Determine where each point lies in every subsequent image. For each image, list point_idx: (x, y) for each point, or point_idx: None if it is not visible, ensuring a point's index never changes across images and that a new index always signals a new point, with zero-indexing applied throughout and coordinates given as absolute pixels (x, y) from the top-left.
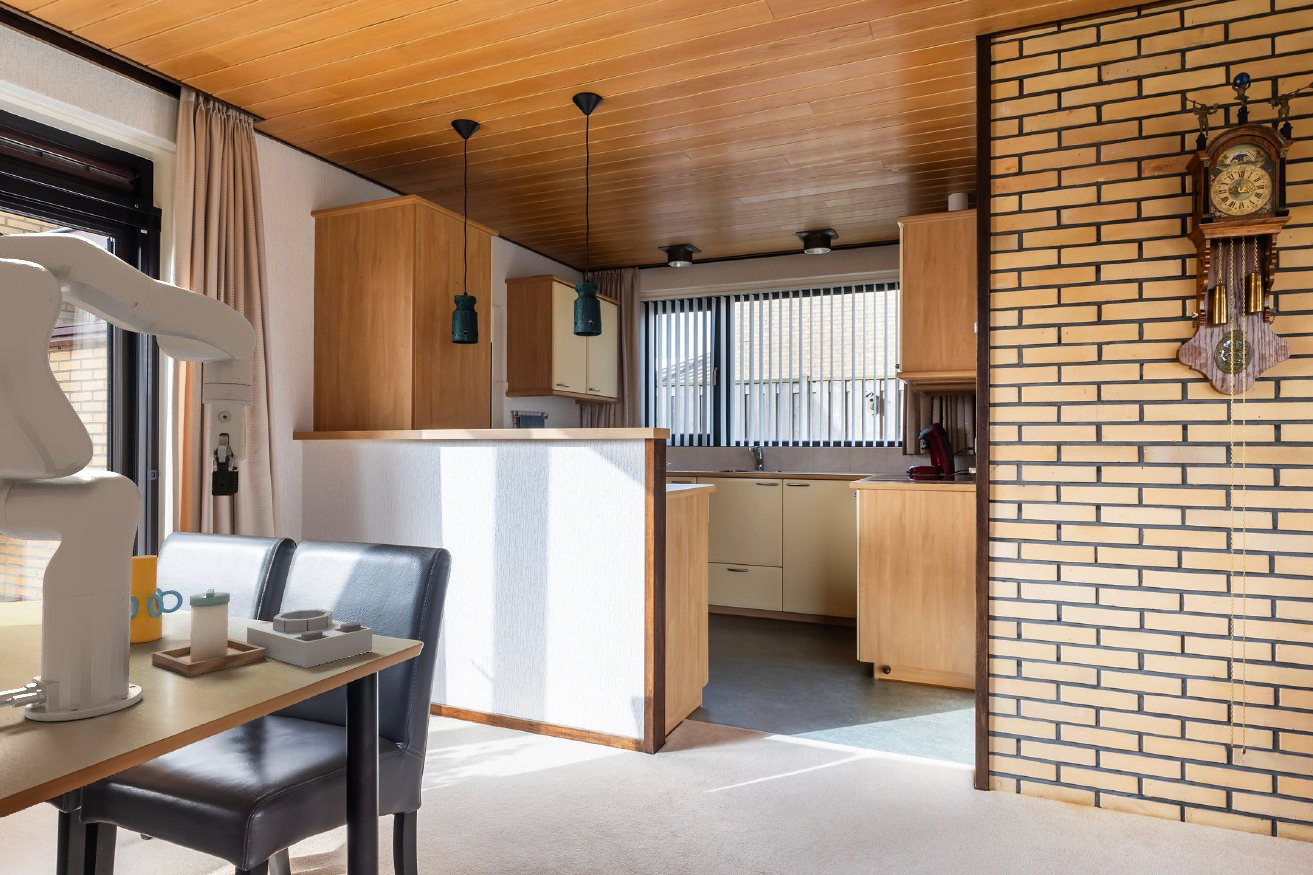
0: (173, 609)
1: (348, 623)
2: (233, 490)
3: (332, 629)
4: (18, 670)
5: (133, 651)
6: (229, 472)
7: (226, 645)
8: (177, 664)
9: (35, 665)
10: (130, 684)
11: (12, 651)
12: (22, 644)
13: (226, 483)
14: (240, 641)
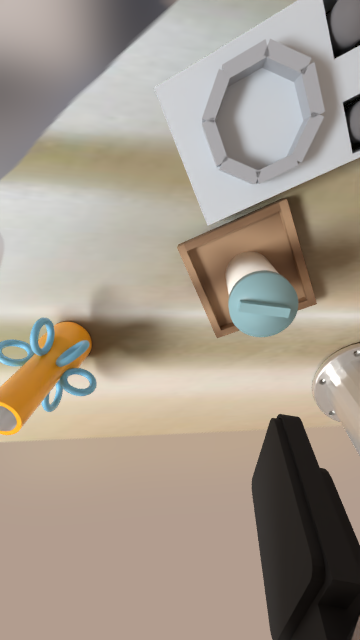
0: (52, 325)
1: (343, 9)
2: (306, 435)
3: (329, 59)
4: (170, 430)
5: (136, 348)
6: (348, 598)
7: (262, 257)
8: None
9: (156, 420)
10: (343, 355)
11: (82, 437)
12: (52, 433)
13: (338, 511)
14: (212, 233)
